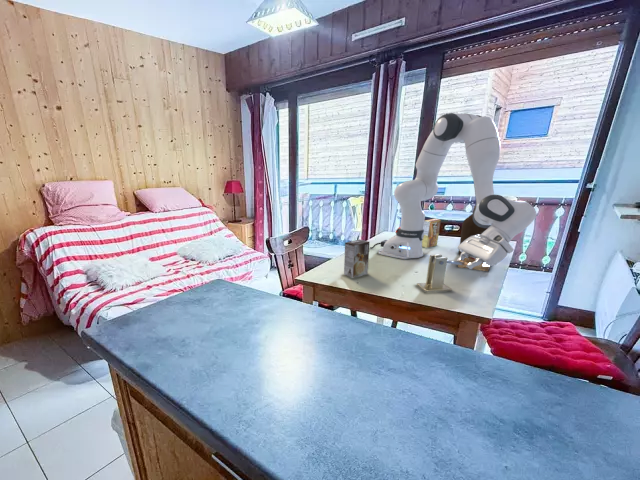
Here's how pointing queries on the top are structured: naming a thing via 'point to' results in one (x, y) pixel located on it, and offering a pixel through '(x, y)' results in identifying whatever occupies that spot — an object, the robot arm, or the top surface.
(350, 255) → the coffee box
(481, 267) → the button block
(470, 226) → the olive oil
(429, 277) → the bracket
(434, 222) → the candy box
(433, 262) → the lever
